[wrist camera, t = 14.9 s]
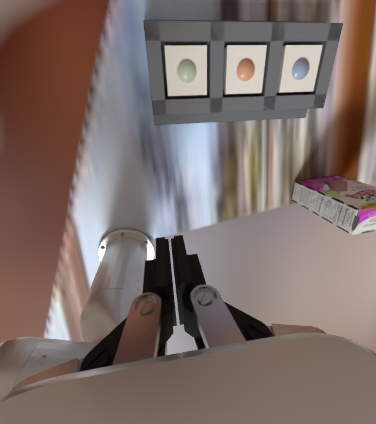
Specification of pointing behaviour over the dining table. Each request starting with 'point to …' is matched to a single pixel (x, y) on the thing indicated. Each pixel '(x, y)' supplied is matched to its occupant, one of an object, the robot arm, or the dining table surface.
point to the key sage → (186, 70)
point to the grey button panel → (216, 42)
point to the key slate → (298, 68)
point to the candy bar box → (339, 202)
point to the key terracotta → (243, 69)
